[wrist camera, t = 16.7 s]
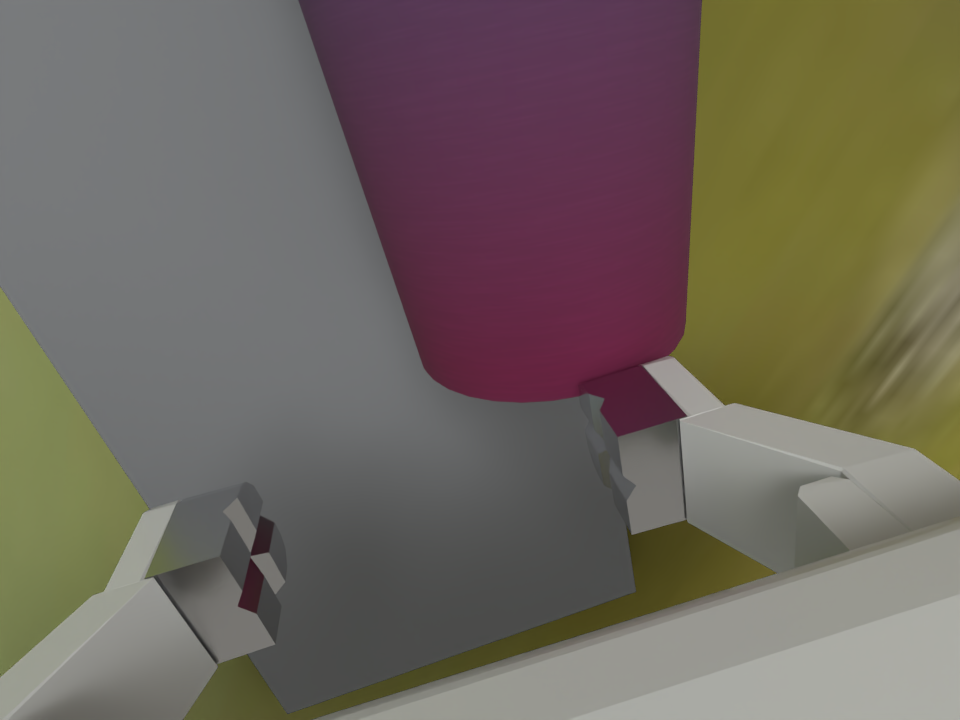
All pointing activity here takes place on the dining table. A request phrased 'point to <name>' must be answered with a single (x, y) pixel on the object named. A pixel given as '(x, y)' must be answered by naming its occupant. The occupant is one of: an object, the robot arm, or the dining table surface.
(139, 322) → the mat
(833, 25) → the dining table surface
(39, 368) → the dining table surface
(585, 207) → the cup
